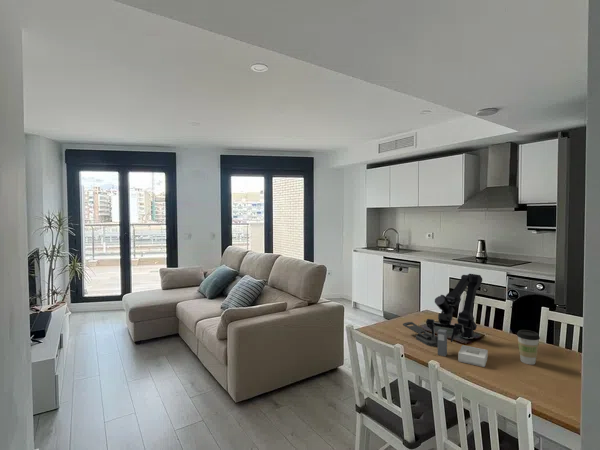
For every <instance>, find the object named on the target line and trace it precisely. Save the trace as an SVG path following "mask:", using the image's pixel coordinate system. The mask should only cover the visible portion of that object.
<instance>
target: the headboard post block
mask: <svg viewBox="0 0 600 450" xmlns="http://www.w3.org/2000/svg"><path fill="white" fill-rule="evenodd" d="M457 354H458V355H457V357H458V359H457V361H458V362H459V363H464V364H466V365H467V364H469V365H472V366H477V367H483V368H485V367H486V364H487V361H488V358H489V357H488V356H489V354H488V349H484V348H479V347H474V346H470V345H464V344H462V345H461V347H460V349H459V351H458V352H457Z"/></svg>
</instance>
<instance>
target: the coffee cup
mask: <svg viewBox="0 0 600 450" xmlns="http://www.w3.org/2000/svg"><path fill="white" fill-rule="evenodd" d="M516 336H517V344H518V345H517V346H518V351H519V356H520V358H519V359H520V362H522V364H525V365H535V364H536V361H537V357H538V350H539V341H540V339H541V337H540V335H539V333H538V332H536V331H533V330H530V329H529V330H528V329H520V330H518V331H517V333H516Z"/></svg>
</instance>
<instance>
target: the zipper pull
mask: <svg viewBox="0 0 600 450" xmlns="http://www.w3.org/2000/svg"><path fill="white" fill-rule="evenodd" d="M402 326H404V327H405V328H407V329H409V330H411V331H413V332H414V333H416V335H415V340H417V341H419V342H420V343H422V344H424V345H426V346H429V347H438V339H437V335H435V336H434V339H433V336H432V332H428V331H427V330H425V329H423V328H422V327H421V326H419V325H417V324H416V323H414V322H413V321H406V322H403V323H402Z"/></svg>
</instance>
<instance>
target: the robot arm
mask: <svg viewBox="0 0 600 450" xmlns="http://www.w3.org/2000/svg"><path fill="white" fill-rule="evenodd" d="M482 282H483V277H482V276H481V275H480V274H474V273H468V274H462V275H461V277H460V279H459V281H458V282H457V284H456V285H455V287H454V288H453V290H452V291H449V292H448V293H447V294H446V295H444V294H440V296H439V295H438V296H437V297H436V298H435V299H434V303H435V305H436V306H437V307H438V308H439V310H441V311H440V313H439V312H438V317H437V319H438V322H437V321H435V319H432V318H427V319H426V320H425V323H426V324H425V325H426V326H427V328H429V329H430V330H431V334H432V336H433V339H434V336H435V334H436V327H440V328H447V329H450V330H451V329H453V330H452V334H451V337H450V342H451V343H452V342H453V341H454V340H455V339H456V338H457V336H459V335H460V336H462V337H468V338H470V337H473V336H475V335H474V331H476V330H477V328H478V327H477V324H476V322H475V317H474V315H473V311H474V304H475V301H476V294H477V291H478V289H479V288H480V287H481V285H482ZM466 289H467V291H466V296H465V300H464V304H463V310H462V311H461V312H460V311H459V313H458V317H457V319H456V320H457V322H455V323H454V325H453V324H452V321H453V313H455V309H454V307H458V306H459V305H460V303H461V300H462V297H461V296H462V295H463V293H464V292H465V290H466ZM453 306H454V307H453Z"/></svg>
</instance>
